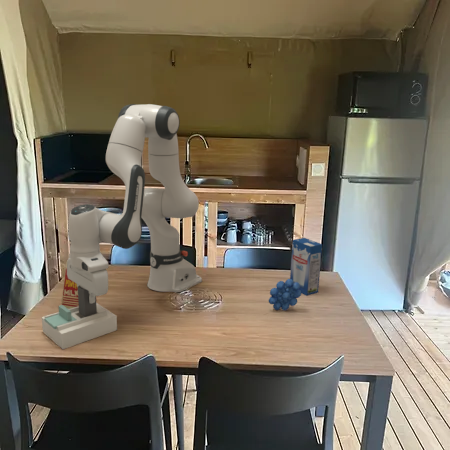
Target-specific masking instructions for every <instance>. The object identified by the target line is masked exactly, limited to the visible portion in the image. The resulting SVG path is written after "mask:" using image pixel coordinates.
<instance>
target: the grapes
mask: <svg viewBox="0 0 450 450" xmlns="http://www.w3.org/2000/svg"><path fill="white" fill-rule="evenodd" d="M299 288H300V284H299V283H298V282H295V283H293V280H292V279H290V278H287V279H286V280H285V282H284V281H283V280H279V281H277V283H276V285H275V287H272V288H271V289H270V291H269V295H270V297H269V298H268V303H269V304H270V305H272V307H273V310H275V311H278V310H280V309H281V310H282V311H287V310H289V308H290V306H291V307H294V306H296V305H297V304H298V298H300V297H301V296H302V295H303V294H302V293H301V291H300V290H298V289H299Z"/></svg>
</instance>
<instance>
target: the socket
mask: <svg viewBox="0 0 450 450" xmlns="http://www.w3.org/2000/svg"><path fill="white" fill-rule="evenodd" d="M96 306H97V314H94V315H91V316H87V317H84V316H83V315H81V314H80V313H79V306H77V307H74V308H68V309H69V310H70V311H71V316H73V317H74V318H75V319H77V320H75V321H72V322H69V323H65V324H62V325H59V326H57V329H54V328H52V327H51V326H50V325H49V324H48V323H47V322H45V320H44V318H48V317H51V316H54V315H58V314H59V311H58V312H54V313H51V314H48V315H44V316H42V317H41V325H42V328H41V329H42V333H44V334H45V335H46V336H47V337H48V338H49V339H50V340H52V341H53V342H54V343H55V345H57V346H58V347H59V348H60V349H62V350H65V349H69V348H70V347H74V346H77V345H79V344H82V343H85V342H87V341H91V340H93V339H97V338H98V337H102V336H104V335H106V334H110V333H113V332H115V331H118V322H117V321H118V320H117V319H118V316H117V315H116V314H114V313H113V312H112V311H110V310H109V309H107V308H106V307H104V306H102V305H101V304H99V303H98V302H96Z"/></svg>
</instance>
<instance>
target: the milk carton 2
mask: <svg viewBox="0 0 450 450" xmlns="http://www.w3.org/2000/svg"><path fill="white" fill-rule="evenodd" d="M322 251H323V244H322V243H321V242H317V241H314V240H312V239H309V238H306V237H301V238H296V239H293V240H292V247H291V259H290V273H289V274H290V275H289V279H292V280H293V283H295V282H298V283H299V284H300V288H299V289H298V290H300V291H301V293H302V294H301V295H303V296H305V297H307V296H312V295H315V294H318V293H319V288H320V276H321V263H322Z"/></svg>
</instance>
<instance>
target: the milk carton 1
mask: <svg viewBox="0 0 450 450" xmlns="http://www.w3.org/2000/svg"><path fill="white" fill-rule="evenodd" d="M67 260H68V258H67V259H66V263H65V272H64V279H63V288H62V296H61V303H60V305H63V306H65V307H66V308H67V309H70V308H74V307H77V306H79V303H78V287H77V284H76V283H75V282H73V281H72V280H70V279H68V276H67Z"/></svg>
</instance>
